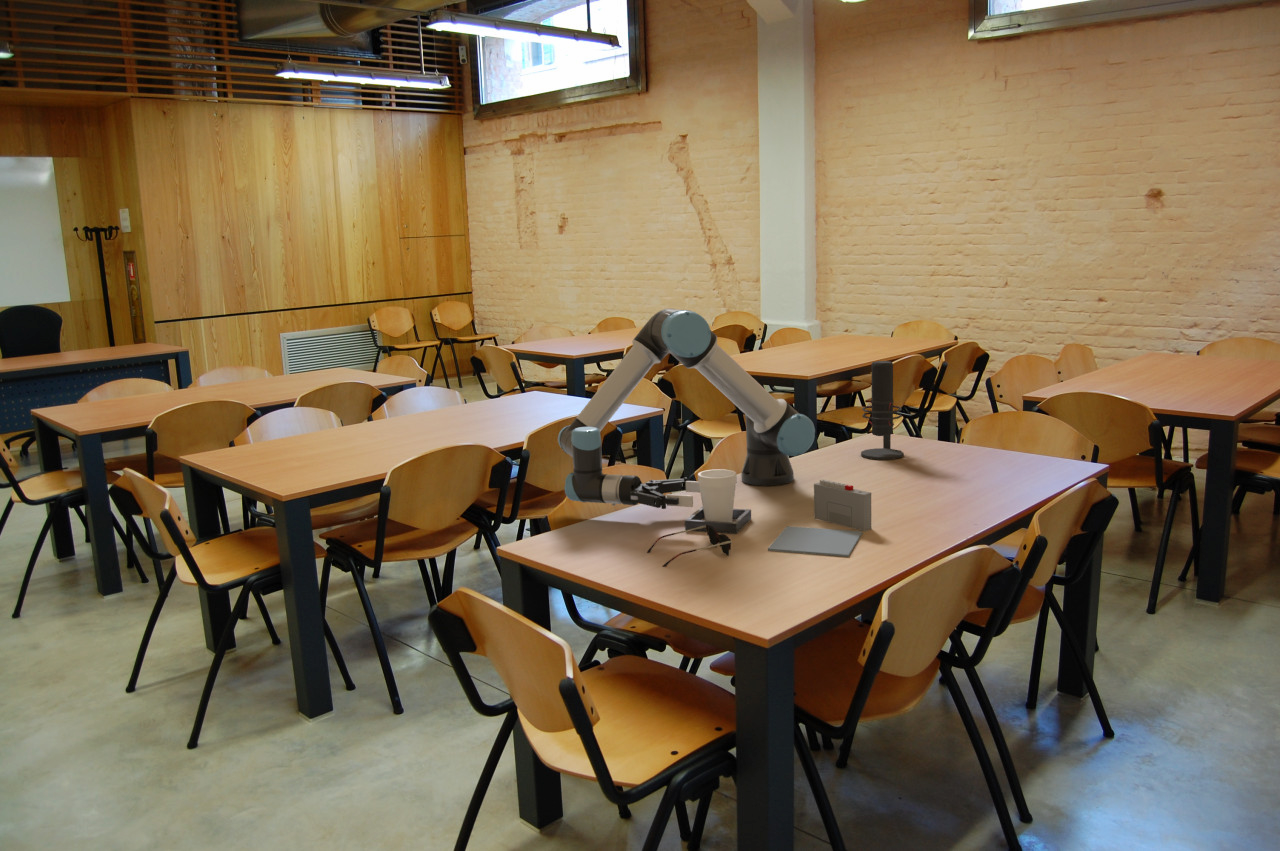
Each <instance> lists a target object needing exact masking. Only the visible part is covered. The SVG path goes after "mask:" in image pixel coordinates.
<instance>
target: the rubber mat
mask: <svg viewBox="0 0 1280 851" xmlns="http://www.w3.org/2000/svg"><path fill="white" fill-rule="evenodd" d="M862 535H863V531H861V530H849V529H833V528H819V527H806V526H805V527H803V526H789V525H788V526H786V527H785V528H784V529H783V531H781V532H780V533H779V535H778V536H777V537H776V539H775V540H774V541H773V542H772V543H771V544H770V545H769V547H768V548H767V551H768V552H778V553H779V552H780V553H781V552H783V553H791V554H792V553H793V554H794V553H795V554H805V555H819V556H831V557H832V556H833V557H843V558H844V557H846V558H849V557H850V555H851V553H852V552H853V550H854V548H855V546H856V545H857V543H858V541H859V540H860V538H861V537H862Z"/></svg>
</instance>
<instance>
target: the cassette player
mask: <svg viewBox="0 0 1280 851" xmlns="http://www.w3.org/2000/svg"><path fill="white" fill-rule="evenodd" d="M813 498H814V499H813V508H814V510H813V511H814V514H813V516H814V517H813V518H814V520H818V521H822V522H827V523H830V524H835V525H838V526H842V527H846V528H848V529H849V528H851V529H854V530H856V531H862V532H866V531H869V530H872V492H869V491H867V490H860V489H858V488H857V489H856V488H854V485H851V484H848V483H847V484H845V483H842V482H836V481H832V480H827V479H819V482H816V483H814V484H813Z"/></svg>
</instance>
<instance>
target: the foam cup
mask: <svg viewBox="0 0 1280 851" xmlns="http://www.w3.org/2000/svg"><path fill="white" fill-rule="evenodd" d="M737 476H738V475H737V472H736V471H735V470H731V469H724V468H723V469H722V468H719V469H717V468H715V469H714V468H713V469H707V470H702V471H699V472H698V473H697V481H698V484H699V487H700V493H699V494H700V498H701V504H702V507H703V511H704V521H718V522H733V519H732V516H733V508H734V507H735V506H734V505H735V504H734V503H735V497H736V496H735V494H736V485H737V482H738V481H737V480H738V479H737Z"/></svg>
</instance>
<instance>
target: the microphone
mask: <svg viewBox="0 0 1280 851" xmlns="http://www.w3.org/2000/svg"><path fill="white" fill-rule="evenodd" d="M894 403H895V402H894V363H893V361H890V360H889V361H888V360H877V361H872V363H871V400H870V404H869V405H867V406H864V407H862V408H861V410H862V411H863V412H864V413H863V414H862V418H865V419H866V420H869V423H870V426H871V434H872V436H875V437H883V438H882V444H883V445H882V446H883V447H882V448H880V447H879V448H877V447H876V448H868V449H864V450H862V451H860V456H861V457H863V458H865V459H868V460H878V461H881V460H882V461H886V460H888V461H889V460H897V459H900V458H903V457H904V455H905V452H903V451H902V450H901V449H895V448H892V447H891V435H892V434H893V433H894V425H895V422H896V420H898V419H900V418H902V417H903V416H902V414H901V413H900V412H901V411H903V410H902V407H901V406H898V405H897V404H895V405H894ZM869 409H871V410H869ZM867 415H871V417H869V416H867ZM894 415H895V416H894ZM894 420H895V421H894Z"/></svg>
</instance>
